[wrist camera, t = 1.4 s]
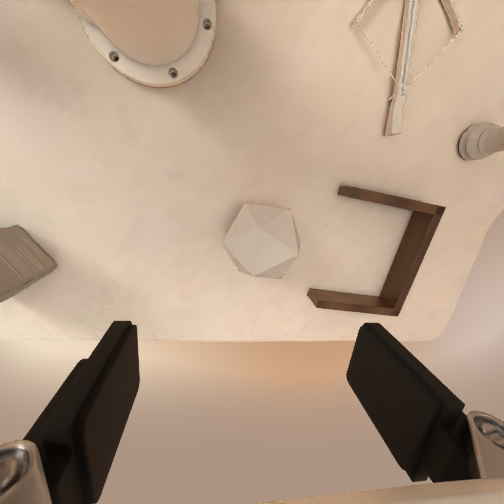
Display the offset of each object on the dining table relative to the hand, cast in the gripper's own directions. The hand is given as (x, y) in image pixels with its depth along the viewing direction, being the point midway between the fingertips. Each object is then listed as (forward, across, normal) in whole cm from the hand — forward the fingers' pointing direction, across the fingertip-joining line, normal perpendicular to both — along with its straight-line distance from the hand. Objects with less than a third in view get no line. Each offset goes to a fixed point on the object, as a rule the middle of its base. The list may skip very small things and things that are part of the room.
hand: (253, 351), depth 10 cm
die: (+23, -4, +1) cm, 23 cm away
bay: (+23, -19, +2) cm, 30 cm away
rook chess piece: (+23, -32, -14) cm, 41 cm away
